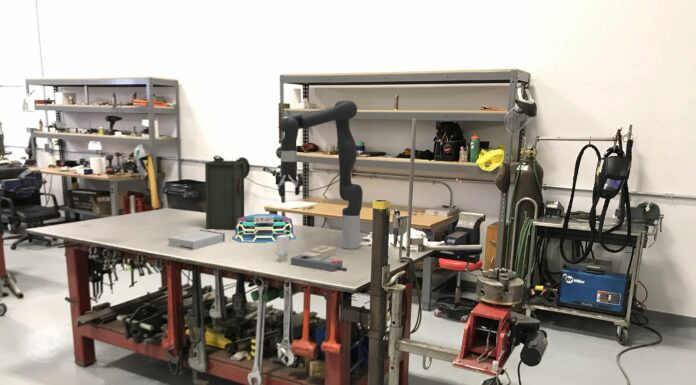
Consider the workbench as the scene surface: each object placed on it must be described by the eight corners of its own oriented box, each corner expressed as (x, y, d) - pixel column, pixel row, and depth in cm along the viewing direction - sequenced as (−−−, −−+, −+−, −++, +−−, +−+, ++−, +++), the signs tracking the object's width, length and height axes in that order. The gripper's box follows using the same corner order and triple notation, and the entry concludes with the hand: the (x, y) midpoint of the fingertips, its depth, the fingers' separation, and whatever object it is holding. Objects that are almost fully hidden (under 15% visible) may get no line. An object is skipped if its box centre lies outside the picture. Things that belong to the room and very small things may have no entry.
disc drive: (224, 242, 265) (224, 233, 264) (193, 251, 245) (193, 241, 245) (200, 238, 273) (200, 229, 273) (168, 246, 253) (168, 237, 253)
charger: (282, 258, 232) (282, 234, 230) (288, 259, 230) (288, 235, 229) (276, 261, 228) (276, 236, 226) (283, 262, 226) (283, 237, 225)
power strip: (300, 260, 229) (300, 252, 229) (350, 268, 218) (350, 260, 217) (290, 264, 222) (290, 256, 222) (342, 272, 211) (342, 264, 210)
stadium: (295, 233, 290) (295, 209, 289) (296, 242, 267) (296, 216, 265) (234, 234, 285) (234, 209, 284) (230, 243, 262) (230, 217, 260)
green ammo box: (215, 223, 315) (214, 160, 310) (244, 224, 314) (243, 161, 309) (206, 229, 296) (205, 162, 291) (236, 230, 296) (236, 163, 291)
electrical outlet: (300, 252, 230) (323, 245, 245) (300, 260, 231) (323, 253, 245) (312, 254, 226) (335, 247, 241) (312, 263, 227) (335, 255, 241)
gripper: (306, 160, 234) (306, 194, 236) (281, 159, 240) (281, 192, 242) (297, 161, 227) (297, 196, 229) (272, 160, 234) (272, 194, 236)
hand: (289, 194), depth 236 cm, fingers open, 8 cm apart
